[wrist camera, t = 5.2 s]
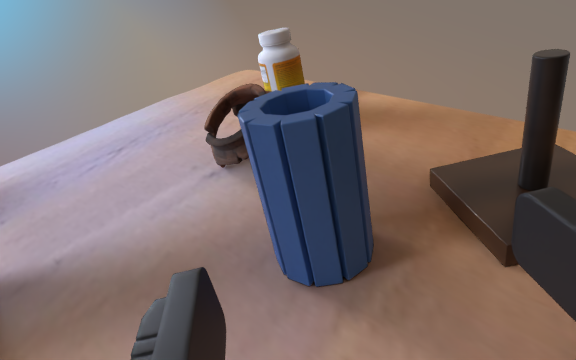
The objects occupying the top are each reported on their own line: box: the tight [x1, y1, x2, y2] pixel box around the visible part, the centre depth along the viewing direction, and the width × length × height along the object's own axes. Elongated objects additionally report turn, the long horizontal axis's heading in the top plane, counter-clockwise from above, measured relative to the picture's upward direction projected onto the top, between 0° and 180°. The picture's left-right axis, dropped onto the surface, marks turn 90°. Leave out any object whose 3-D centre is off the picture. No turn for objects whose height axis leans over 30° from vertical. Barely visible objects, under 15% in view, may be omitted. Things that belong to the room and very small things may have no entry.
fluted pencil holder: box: [238, 82, 374, 287], centre depth 21 cm, size 6×6×10 cm
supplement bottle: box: [258, 28, 305, 91], centre depth 49 cm, size 5×5×10 cm
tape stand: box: [430, 49, 576, 267], centre depth 22 cm, size 9×9×10 cm
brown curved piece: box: [205, 84, 272, 168], centre depth 38 cm, size 12×9×8 cm
